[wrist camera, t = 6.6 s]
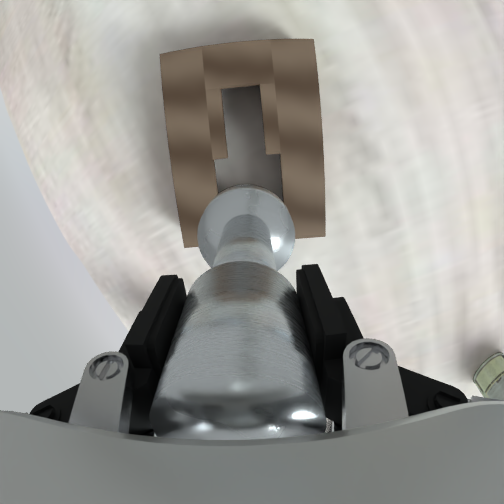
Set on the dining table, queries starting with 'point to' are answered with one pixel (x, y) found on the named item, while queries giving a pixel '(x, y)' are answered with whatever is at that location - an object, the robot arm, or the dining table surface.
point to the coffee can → (491, 377)
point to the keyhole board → (274, 123)
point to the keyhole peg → (240, 333)
